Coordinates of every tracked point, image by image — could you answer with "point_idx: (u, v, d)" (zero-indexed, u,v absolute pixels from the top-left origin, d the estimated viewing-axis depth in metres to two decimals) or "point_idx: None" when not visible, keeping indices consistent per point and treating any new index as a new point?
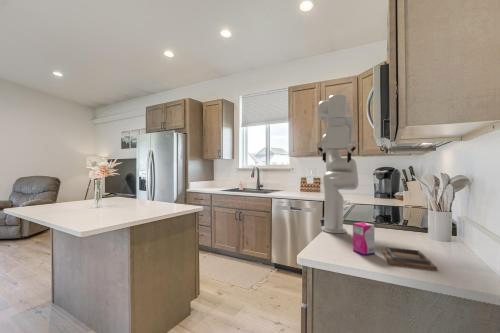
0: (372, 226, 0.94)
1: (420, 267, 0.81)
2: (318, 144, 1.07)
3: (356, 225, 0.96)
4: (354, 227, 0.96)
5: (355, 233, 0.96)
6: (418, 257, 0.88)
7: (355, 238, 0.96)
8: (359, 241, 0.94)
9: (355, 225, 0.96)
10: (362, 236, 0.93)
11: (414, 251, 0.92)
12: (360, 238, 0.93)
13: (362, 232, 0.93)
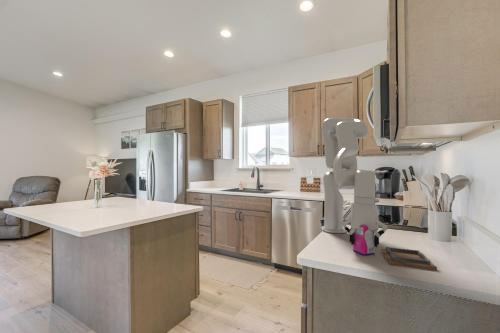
0: None
1: (420, 267, 0.81)
2: (344, 224, 0.97)
3: None
4: None
5: (355, 233, 0.96)
6: (418, 257, 0.88)
7: (356, 238, 0.96)
8: (359, 241, 0.94)
9: None
10: (362, 236, 0.93)
11: (414, 251, 0.92)
12: (360, 238, 0.93)
13: (362, 232, 0.93)
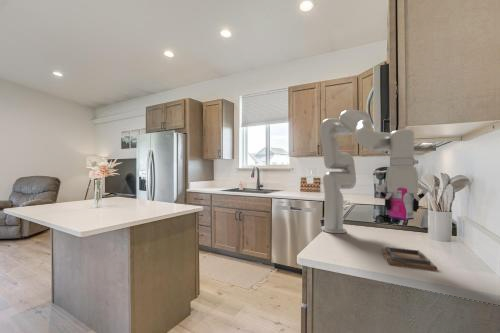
0: None
1: (420, 267, 0.81)
2: (379, 188, 0.91)
3: None
4: None
5: (392, 198, 0.90)
6: (418, 257, 0.88)
7: (392, 202, 0.89)
8: (397, 205, 0.88)
9: None
10: (400, 200, 0.86)
11: (414, 251, 0.92)
12: (398, 201, 0.87)
13: (400, 195, 0.86)
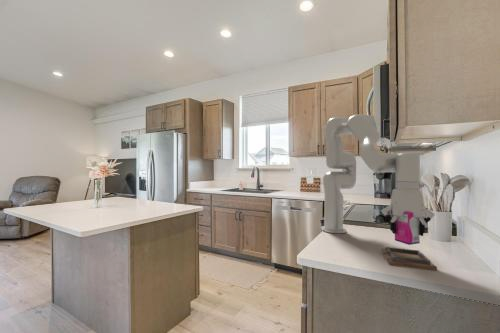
0: None
1: (420, 267, 0.81)
2: (384, 211, 0.90)
3: None
4: None
5: (397, 221, 0.89)
6: (418, 257, 0.88)
7: (398, 226, 0.88)
8: (403, 229, 0.87)
9: None
10: (406, 224, 0.85)
11: (414, 251, 0.92)
12: (404, 225, 0.86)
13: (406, 219, 0.85)
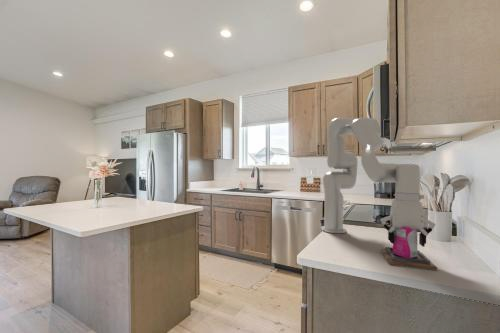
0: None
1: (420, 267, 0.81)
2: (383, 220, 0.90)
3: None
4: None
5: (395, 235, 0.89)
6: (418, 257, 0.88)
7: (396, 240, 0.89)
8: (401, 244, 0.87)
9: None
10: (404, 239, 0.86)
11: None
12: (402, 240, 0.86)
13: (404, 234, 0.86)
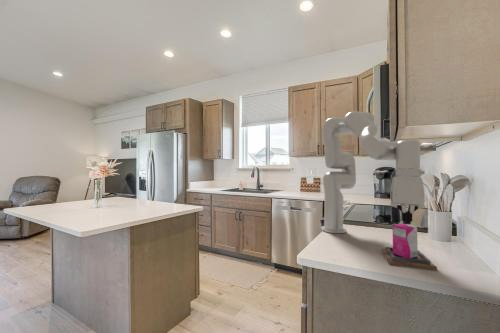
0: (415, 228, 0.87)
1: (420, 267, 0.81)
2: (393, 204, 0.89)
3: (397, 227, 0.89)
4: (394, 229, 0.89)
5: (395, 235, 0.89)
6: (418, 257, 0.88)
7: (396, 240, 0.89)
8: (401, 244, 0.87)
9: (395, 227, 0.89)
10: (404, 239, 0.86)
11: None
12: (402, 240, 0.86)
13: (404, 234, 0.86)
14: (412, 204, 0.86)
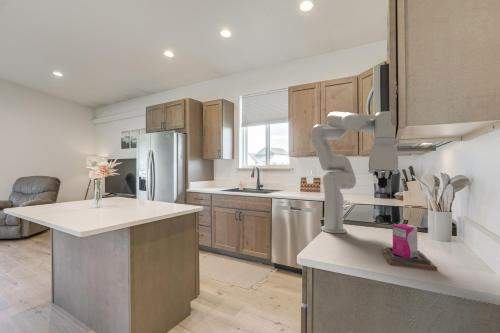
0: (415, 228, 0.87)
1: (420, 267, 0.81)
2: (370, 170, 0.98)
3: (397, 227, 0.89)
4: (394, 229, 0.89)
5: (395, 235, 0.89)
6: (418, 257, 0.88)
7: (396, 240, 0.89)
8: (401, 244, 0.87)
9: (395, 227, 0.89)
10: (404, 239, 0.86)
11: None
12: (402, 240, 0.86)
13: (404, 234, 0.86)
14: (387, 170, 0.95)
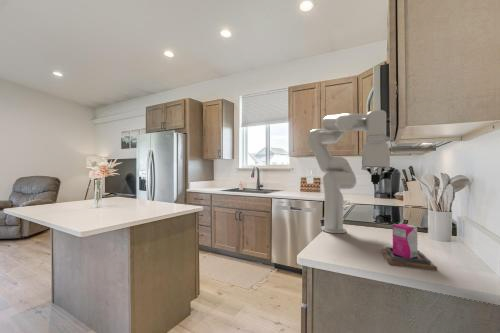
0: (415, 228, 0.87)
1: (420, 267, 0.81)
2: (363, 167, 1.01)
3: (397, 227, 0.89)
4: (394, 229, 0.89)
5: (395, 235, 0.89)
6: (418, 257, 0.88)
7: (396, 240, 0.89)
8: (401, 244, 0.87)
9: (395, 227, 0.89)
10: (404, 239, 0.86)
11: None
12: (402, 240, 0.86)
13: (404, 234, 0.86)
14: (379, 166, 0.99)
